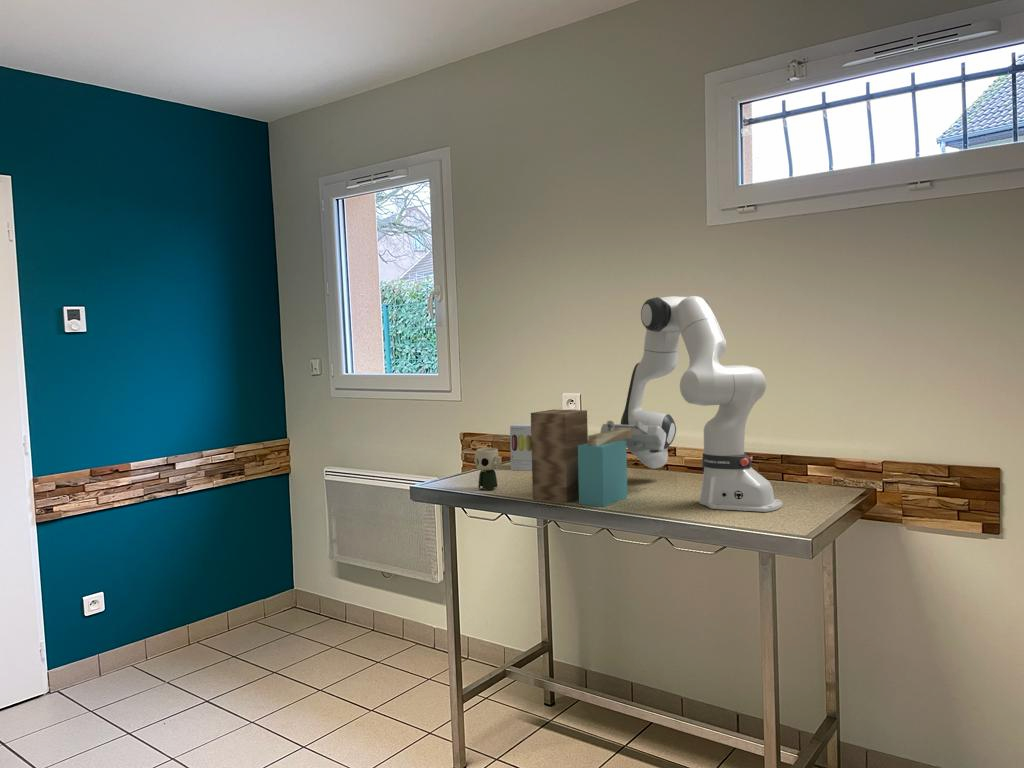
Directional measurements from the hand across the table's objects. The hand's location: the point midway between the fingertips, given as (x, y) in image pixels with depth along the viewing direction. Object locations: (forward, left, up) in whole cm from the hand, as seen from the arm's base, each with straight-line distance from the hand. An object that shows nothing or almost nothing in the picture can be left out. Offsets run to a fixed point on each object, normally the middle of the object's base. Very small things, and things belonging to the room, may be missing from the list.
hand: (622, 423), depth 238 cm
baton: (0, +8, -5) cm, 9 cm away
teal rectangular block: (0, +13, -22) cm, 25 cm away
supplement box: (+55, -27, -22) cm, 65 cm away
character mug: (+42, +14, -22) cm, 49 cm away
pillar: (+14, +14, -22) cm, 29 cm away
